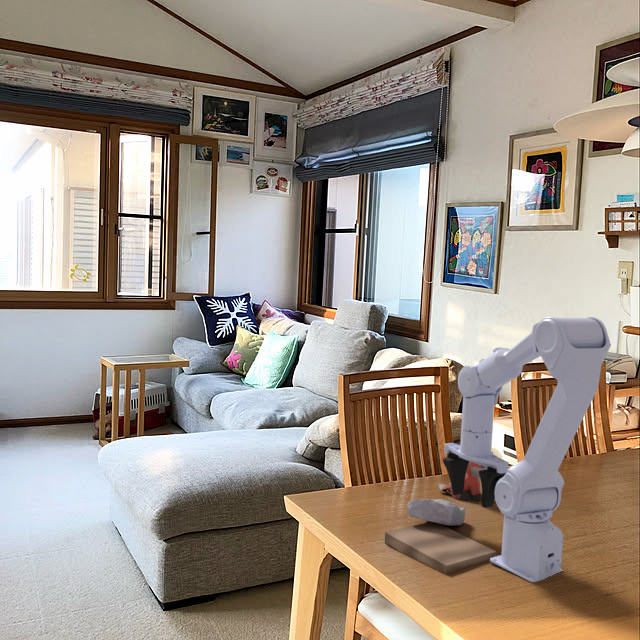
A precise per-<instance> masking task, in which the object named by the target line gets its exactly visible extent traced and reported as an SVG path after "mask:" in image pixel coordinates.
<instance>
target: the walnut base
mask: <svg viewBox="0 0 640 640" xmlns="http://www.w3.org/2000/svg"><path fill="white" fill-rule="evenodd" d="M384 544H385V545H387V546H390V547H391V548H393V549H395V550H396V551H398V552H400V553H402V554H404V555H407V556H408V557H410V558H412V559H414V560H417V561H419V562H420V563H423V564H424V565H426V566H428V567H431V568H433V569H435V570H437V571H438V572H440V573H442V574H445V575H448V574H451V573H454V572H457V571H459V570H462V569H465V568H469V567H471V566H475V565H478V564H481V563H484V562H487V561H490V560H489V559H490V558H493V557H496V556H497V551H496V550H494V549H492V548H490V547H488V546H486V545H484V544H482V543H481V542H478V541H476V540H473V539H471V538H469V537H467V536H466V535H463V534H462V533H460V532H457V531H455V530H453V529H451V528H449V527H446V525H444V524H440V523H435V522H431V521H426V522H423V523H420V524H414V525H411V526H405V527H402V528H398V529H394V530H393V529H392V530H389V531H385V533H384Z"/></svg>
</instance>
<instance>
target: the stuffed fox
mask: <svg viewBox="0 0 640 640" xmlns="http://www.w3.org/2000/svg"><path fill="white" fill-rule="evenodd" d="M480 470H487V467H484V466H482V465H479V464H476V463H473V462H470V461H469V464H468V467H467V471H466V475H465V484H464V491H463V494H459V495H453V492H452V487H451V485H447V484H446V483H438V484H437V486H438V488H439V490H440V491H441V492H444V493H447V494H449V495H451V496H452V498H453V499H455V500H461V501H465V502H466V501H471V502H472V501H473V502H481V501H482V490H481V479H480V475H479V471H480Z"/></svg>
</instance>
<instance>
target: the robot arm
mask: <svg viewBox="0 0 640 640" xmlns="http://www.w3.org/2000/svg"><path fill="white" fill-rule="evenodd" d="M531 330H532V331H530V332H529V333H528V334H527V335H525V336H524V337H523V338H521V340H520V341H519V342H517V343H516V344H515V345H513V346H512V347H511V348H508V347H495V348H494V349H493V350H492V352H493V353H491V354H490V355H489V356H487V357H486V358H481V359H480V360H479V363H477V364H476V365H475V366H474V365H473V366H472V365H463V367H462V368H461V369H460V371H459V372H458V377H457V387H458V390H459V392H460V394H461V395H462V397H463V398H462V409H461V410H462V414H461V429H460V444H457V443H454V442H448V443H444V446H443V447H444V448H443V454H445V455H447V456H446V457H442V464H444V467H445V469H446V471H447V474H448V477H449V478H448V479H449V481H450V486H451V487H452V492H453V495H459V494H463V491H464V484H465V475H466V471H467V467H468V464H469V461H470V462H473V463H476V464H479V465H482V466H484V467H487V470H480V471H479V475H480V486H481V498H482V500H481V506H482V507H481V508H484V509H485V508H486V509H487V508H490V507H491V508H492V507H493V505H494V503H496V506H497V507H498V509H499V511H500V513H501V514H503V522H502V523H503V528H502V539H501V540H502V541H501V551H500V552H501V554H500V555H496V557H493V558H490V560H489V562H490V563H492V564H494V565H496V566H499V567H501V568H502V569H504V570H506V571H509V572H510V573H513V574H514V575H517V576H518V577H521V578H522V579H524V580H527V581H529V582H530V583H537V582H541V581H542V580H546V579H548V578H547V577H549V576H551V575H554V574H556V573H559V572H561V570H562V569H563V568H562V559H563V558H562V557H563V545H564V535H563V532H562V530H561V529H560V528H559V527H558V526H556V525H555V524H554V523H552V521H551V520H550V518H553V513H554V511H556V510H557V509H558V508H559V506H560V504H561V501H562V499H561V498H562V491H563V488H564V485H565V481H564V478H563V476H562V474H561V473H560V471H559V468H560V467H561V464H562V462H563V460H564V459H565V456H566V454H567V453H568V450H569V448H570V446H571V444H572V442H573V440H574V437H575V436H576V435H577V431H578V429H579V427H580V426H581V424H582V422H583V420H584V417H585V415H586V413H587V411H588V409H589V407H590V404H591V403H592V401H593V399H594V397H595V395H596V392H597V390H598V387H599V384H600V377H601V370H602V365H603V363H604V360H605V359H606V357H607V354H608V352H609V350H610V348H611V347H612V344H611V341H610V337H609V334H608V331H607V327H606V326H605V324H604V323H603V322H602V320H600V319H599V318H597V317H593V316H589V317H586V318H585V317H577V318H576V317H554V316H553V317H552V316H547V317H544V318H542V319H541V320H540V321H539V322H536V323H534V324H533V326H532V329H531ZM539 357H541V360H542V362H543V363H544V365H545V367H546V369H547V371H548V373H549V375H550V376H551V377H552V378H554V379H556V380H557V384H556V386H555V388H554V392H553V393H552V396H551V397H550V400H549V401H548V405H547V406H546V408H545V411H544V413H543V415H542V418H541V420H540V422H539V423H538V426H537V428H536V431H535V433H534V435H533V437H532V439H531V442H530V444H529V446H528V449H527V450H526V452H525V456H524V457H523V458H522V460H520V461H518V462H517V463H515V464H513V465H512V466H511V467H509V464H510V463H509V461H506V460H505V459H502V458H501V457H499V456H498V455H495V454H494V451H493V450H492V443H493V431H494V430H493V427H494V413H495V406H497V404H498V399H499V395H500V394H501V392H502V391H503V390H502V389H503V386H505V385H507V384H508V383H510V382H511V381H513V380H515V379H516V378H518V377H519V376H520V375H521V374H522V372H523V368H524V366H525V365H526V364H529V363H530V362H533V361H534V360H536V359H538V358H539ZM563 570H564V569H563ZM563 570H562V571H563ZM559 574H560V573H559ZM556 575H557V574H556ZM554 576H555V575H554ZM551 577H552V576H551ZM545 578H546V579H545ZM549 578H550V577H549Z"/></svg>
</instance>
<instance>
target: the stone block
mask: <svg viewBox="0 0 640 640" xmlns="http://www.w3.org/2000/svg"><path fill="white" fill-rule="evenodd" d="M406 509H407V515H408V516H409V517H411V518H415V519H420V520H422V521H426V522H435V523H438V524H440V525H443V526H449V527H450V526H462V525H463V524H464V523H465V519H466V517H465V516H466V510H467V509H466V507H460V506H458V505H457V504H456V503H454V502H451V501H448V500H445V499H442V498H439V499H438V498H437V499H433V498H427V499H421V498H420V499H419V498H416V499H412V500H409V501H408V502H407V505H406Z"/></svg>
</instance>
